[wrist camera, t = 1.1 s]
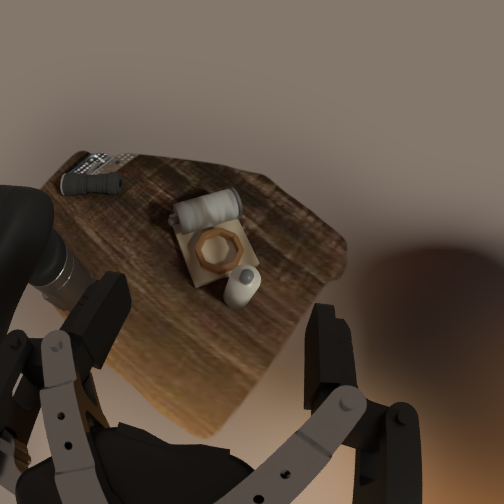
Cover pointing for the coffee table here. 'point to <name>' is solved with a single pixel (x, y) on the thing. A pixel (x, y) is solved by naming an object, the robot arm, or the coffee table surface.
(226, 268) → the motor mount
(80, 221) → the coffee table surface
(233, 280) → the white capped bottle
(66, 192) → the flashlight
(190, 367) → the coffee table surface
